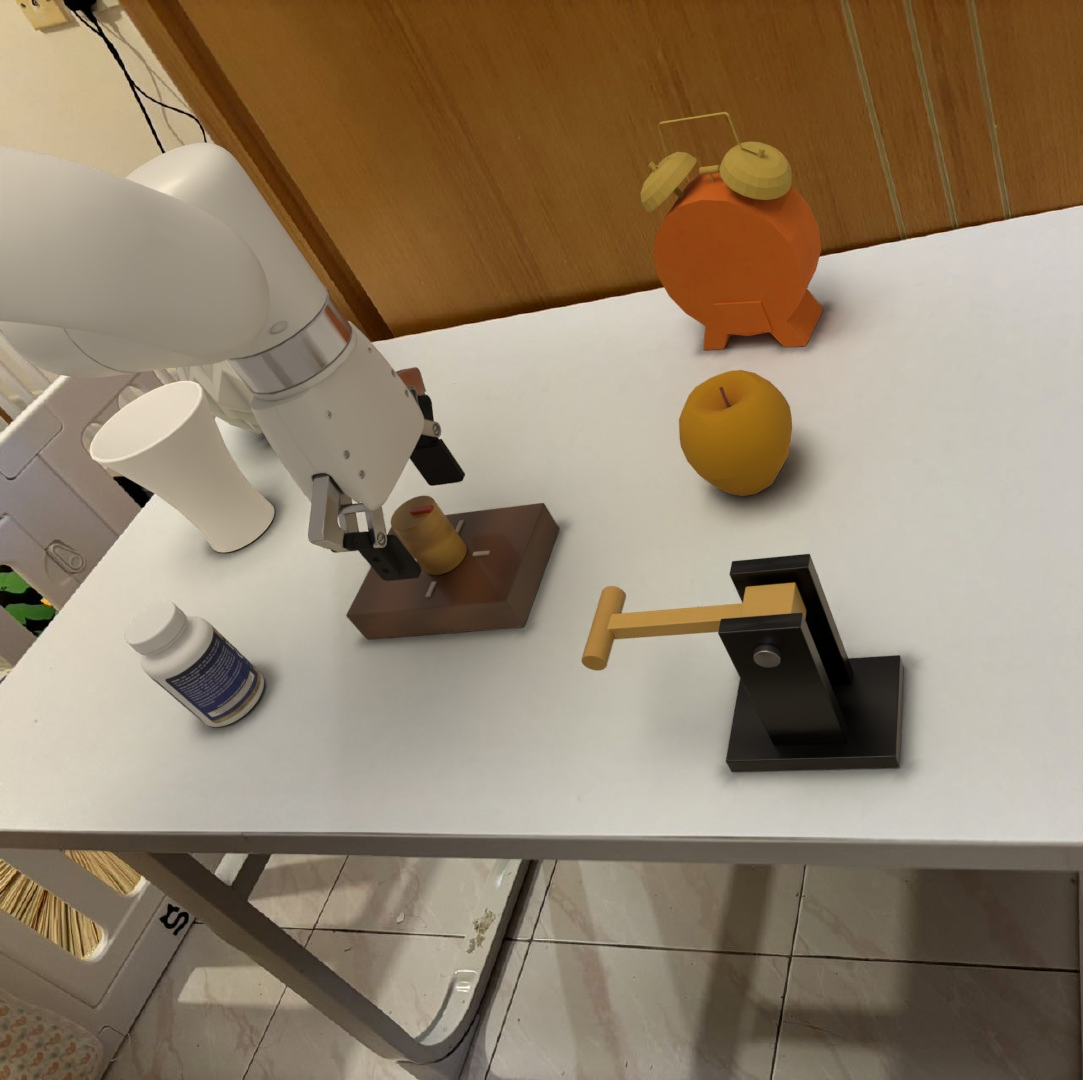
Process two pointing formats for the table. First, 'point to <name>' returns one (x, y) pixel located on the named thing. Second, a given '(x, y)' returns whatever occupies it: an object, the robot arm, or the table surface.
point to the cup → (184, 463)
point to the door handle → (678, 618)
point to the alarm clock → (736, 244)
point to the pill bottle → (194, 664)
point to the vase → (223, 393)
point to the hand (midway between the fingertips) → (426, 526)
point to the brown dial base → (465, 579)
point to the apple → (736, 431)
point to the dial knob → (429, 535)
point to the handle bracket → (806, 683)
